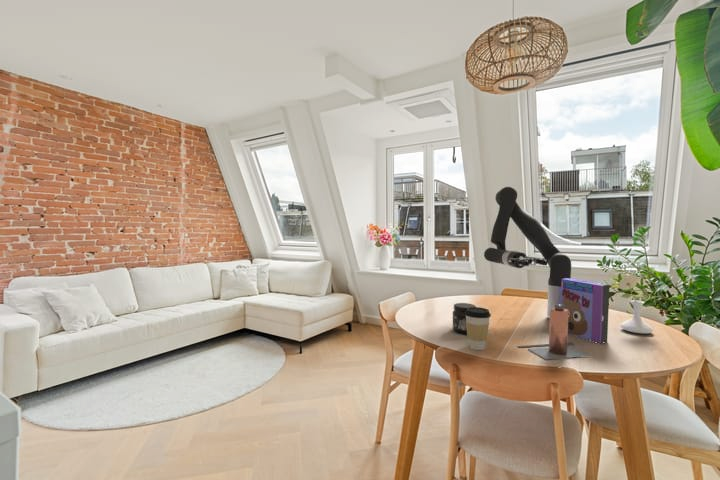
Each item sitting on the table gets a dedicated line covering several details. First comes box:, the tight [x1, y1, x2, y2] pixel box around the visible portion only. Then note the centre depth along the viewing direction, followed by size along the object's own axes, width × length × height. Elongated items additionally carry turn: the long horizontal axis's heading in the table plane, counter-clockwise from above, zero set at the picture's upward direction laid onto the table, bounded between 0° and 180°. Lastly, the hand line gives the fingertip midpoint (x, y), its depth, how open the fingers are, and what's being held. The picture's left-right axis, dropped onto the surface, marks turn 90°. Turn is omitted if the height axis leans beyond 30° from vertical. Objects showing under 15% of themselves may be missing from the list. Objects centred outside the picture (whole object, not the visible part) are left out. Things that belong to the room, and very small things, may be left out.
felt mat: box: [527, 345, 590, 361], centre depth 131 cm, size 18×10×1 cm, turn 99°
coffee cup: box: [464, 306, 492, 351], centre depth 137 cm, size 10×10×15 cm
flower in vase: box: [617, 275, 654, 335], centre depth 156 cm, size 13×11×25 cm
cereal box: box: [561, 278, 610, 344], centre depth 149 cm, size 17×5×24 cm, turn 23°
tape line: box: [516, 342, 574, 349], centre depth 139 cm, size 24×1×1 cm, turn 99°
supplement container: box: [452, 302, 477, 336], centre depth 156 cm, size 10×10×12 cm
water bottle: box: [548, 304, 569, 355], centre depth 131 cm, size 6×6×18 cm
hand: (537, 263), depth 147 cm, fingers open, 8 cm apart
